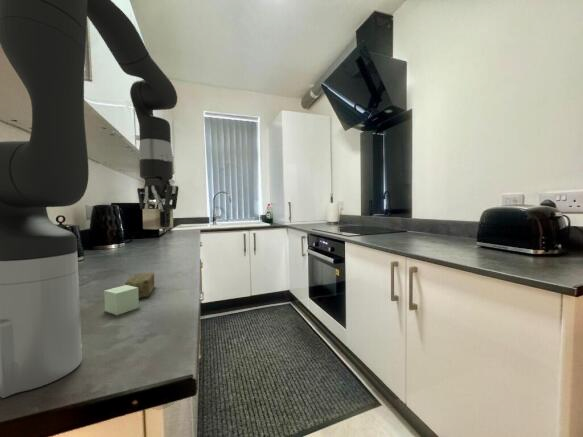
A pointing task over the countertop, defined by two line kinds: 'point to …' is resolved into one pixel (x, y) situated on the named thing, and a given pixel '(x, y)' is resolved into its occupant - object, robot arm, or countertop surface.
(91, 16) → the robot arm
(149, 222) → the birch cube
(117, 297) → the sage cube
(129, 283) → the stone block
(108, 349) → the countertop surface
